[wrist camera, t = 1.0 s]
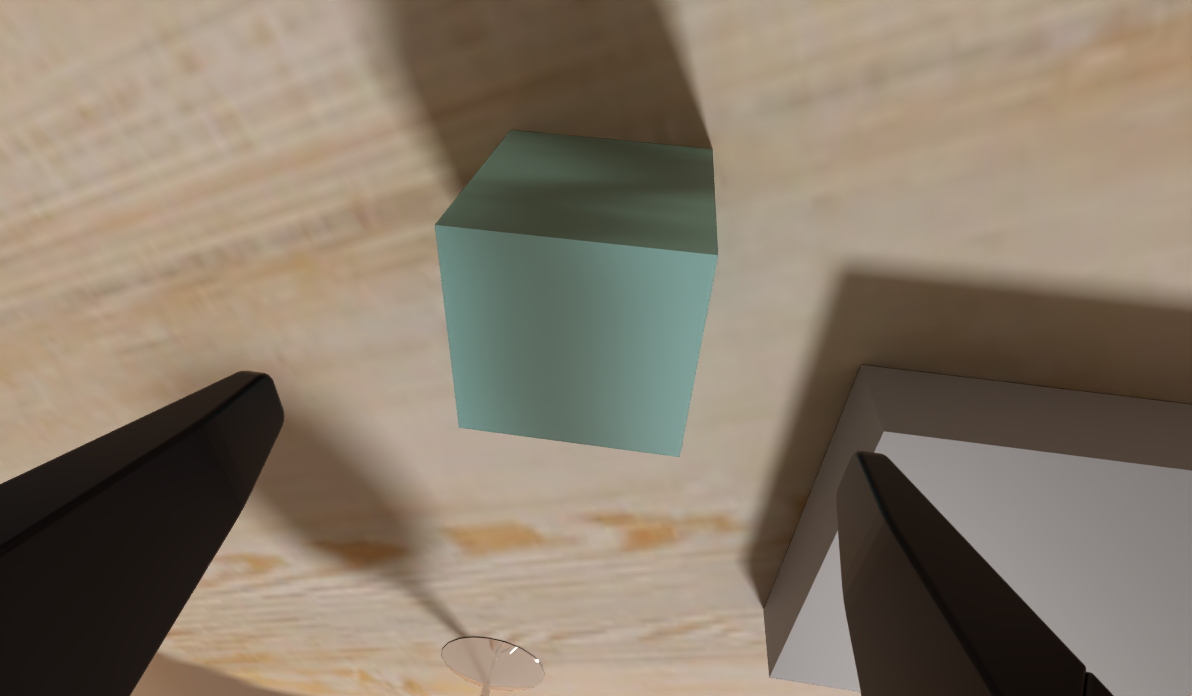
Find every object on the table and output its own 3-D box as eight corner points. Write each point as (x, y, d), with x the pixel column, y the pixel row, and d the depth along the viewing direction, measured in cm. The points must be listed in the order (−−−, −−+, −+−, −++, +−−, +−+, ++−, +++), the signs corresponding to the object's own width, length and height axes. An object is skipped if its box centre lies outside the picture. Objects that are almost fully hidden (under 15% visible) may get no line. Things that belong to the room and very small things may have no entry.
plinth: (1356, 424, 15) (1455, 504, 13) (1095, 661, 22) (1133, 735, 20) (861, 365, 16) (884, 431, 14) (763, 610, 23) (769, 677, 21)
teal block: (712, 147, 13) (717, 255, 9) (684, 317, 16) (679, 457, 12) (511, 129, 14) (434, 225, 10) (516, 298, 16) (459, 427, 12)
